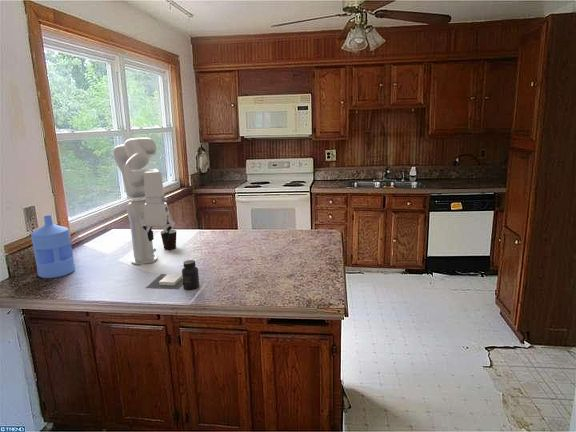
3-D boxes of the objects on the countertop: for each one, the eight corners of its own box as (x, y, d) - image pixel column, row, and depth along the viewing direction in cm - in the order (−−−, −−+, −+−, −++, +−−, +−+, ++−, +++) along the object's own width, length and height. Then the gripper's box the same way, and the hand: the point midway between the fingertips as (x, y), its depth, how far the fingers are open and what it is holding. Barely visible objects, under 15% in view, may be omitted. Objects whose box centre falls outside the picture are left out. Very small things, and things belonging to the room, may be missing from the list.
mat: (161, 275, 185) (161, 273, 184) (192, 276, 183) (192, 274, 183) (145, 289, 169) (145, 288, 169) (178, 290, 167) (178, 289, 167)
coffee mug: (174, 251, 218) (172, 233, 216) (159, 250, 220) (157, 233, 217) (182, 244, 230) (181, 228, 227) (168, 244, 231) (167, 227, 229)
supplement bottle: (202, 287, 170) (200, 261, 167) (189, 293, 165) (187, 265, 162) (193, 283, 174) (191, 257, 171) (180, 288, 169) (177, 262, 166)
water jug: (35, 272, 191) (25, 216, 185) (71, 264, 201) (62, 210, 194) (41, 281, 180) (30, 222, 173) (78, 272, 189) (70, 216, 183)
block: (167, 273, 180) (182, 274, 179) (168, 277, 180) (182, 277, 180) (159, 281, 171) (174, 282, 171) (159, 285, 172) (174, 285, 171)
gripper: (178, 198, 170) (181, 238, 174) (140, 198, 172) (144, 237, 176) (170, 202, 163) (174, 243, 167) (131, 201, 165) (136, 242, 169)
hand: (159, 240), depth 172 cm, fingers open, 6 cm apart
